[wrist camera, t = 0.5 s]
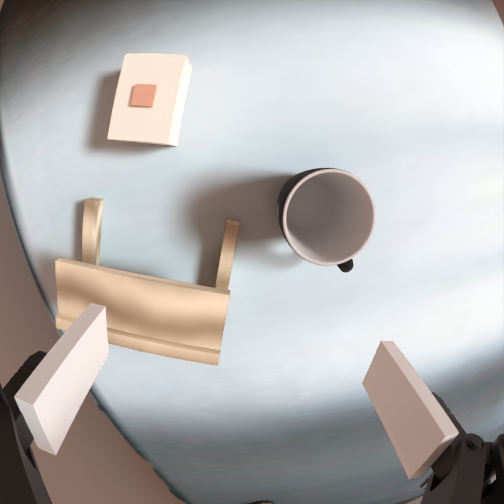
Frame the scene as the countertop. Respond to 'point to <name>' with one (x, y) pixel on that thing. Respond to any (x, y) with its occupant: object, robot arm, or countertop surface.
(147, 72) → the cream white block
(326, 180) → the mug
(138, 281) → the shelf
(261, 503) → the pill bottle
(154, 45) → the countertop surface
